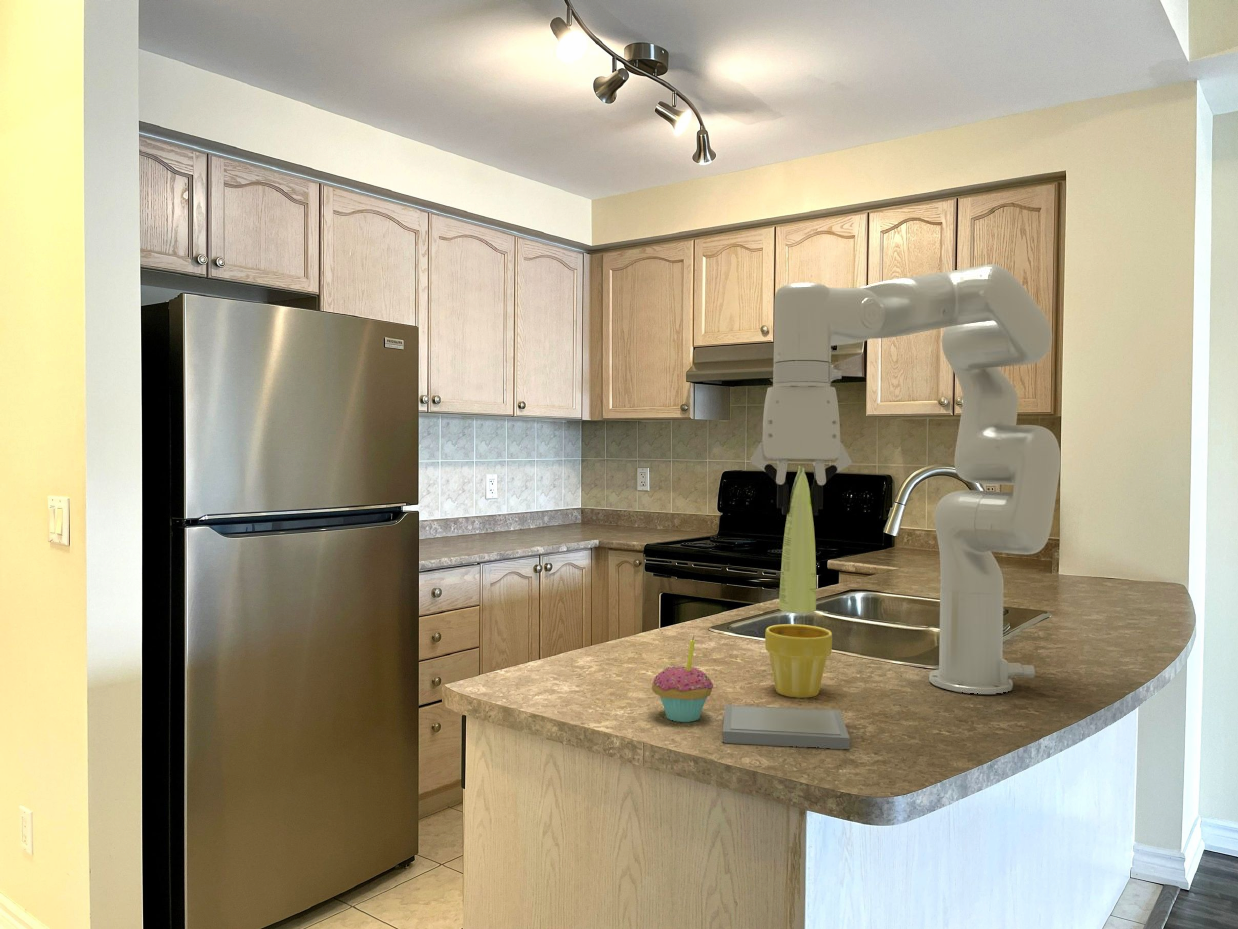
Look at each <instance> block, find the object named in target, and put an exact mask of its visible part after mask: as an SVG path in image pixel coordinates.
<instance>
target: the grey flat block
mask: <svg viewBox="0 0 1238 929" xmlns="http://www.w3.org/2000/svg"><path fill="white" fill-rule="evenodd" d="M723 712H724V714H723V725H722V743H723V742H724V743H723V744H736V745H737V744H741V745H754V746H755V745H756V746H776V747H789V746H793V748H807V747H816V748H815V749H826V748H830V750H844V749H851V748H850V746H851V745H850V744H851V743H850V740H851V738H850V735H849V732H848V729H847V725H846V723H845V721H844V718H843V715H842V713H841V710H840V709H839V710H838V709H820V708H802V707H801V708H800V707H799V708H798V707H784V706H783V707H779V706H759V705H758V706H756V705H738V704H724V711H723ZM796 746H797V747H796ZM817 747H819V748H817Z"/></svg>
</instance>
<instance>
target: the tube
mask: <svg viewBox="0 0 1238 929" xmlns="http://www.w3.org/2000/svg"><path fill="white" fill-rule="evenodd" d="M809 485H810V484H809V482H808V478H807V475H806V472H805V467H803V466H800V465H798V471H797V473H796V476H795V478H794V482H793V485H792V488H791V493H790V498H789V505H788V514H787V515H786V519H785V520H786V521H785V525H784V526H785V527H784V533H783V534H784V535H783V541H782V542H783V543H782V553H781V568H780V579H779V580H780V581H779V597H778V598H779V599H778V609H779V610H780V611H782V612H785V613H790V614H797V615H798V614H799V615H800V614H801V615H802V614H803V615H808V614H813V613H815V612H816V611H817V565H816V564H817V560H816V555H817V554H816V539H815V538H816V537H815V525H814V515H813V514H812V506H811V489H810V486H809Z"/></svg>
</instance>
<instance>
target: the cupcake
mask: <svg viewBox="0 0 1238 929" xmlns="http://www.w3.org/2000/svg"><path fill="white" fill-rule="evenodd" d="M695 642H696V641H695V634H693V635H692V638H691V639H690V641H689V645H688V646H689V647H688V655H687V661H686V666H679V665H677V666H672V667H671V666H670V667H666V668H665V669H663V670H662V671H660V672H658V674H656V675H655V677H654V679H653V681H652V684H651V690H652V692H653V693H654V694H655V695H657V696H659V699H660V701H661V703H662V705H663V709H664V712H665V716H666V718H667V719H668V720H670V721H672V720H673V722H677V723H690V722H695V721H698V720H699V719H700V718H701V714H702V711H703V708H704V705H705V703H706V700H707V698H708V697H710V696H711V694H712V691H713V689H714V684H713V682H712V680H711V678H710V676H708V675H707V674H706V673H705V672H704V671H702V670H701V669H698V668H697V667H694V666H693V664H692V663H693V659H694V658H693V657H694V651H695V650H694V649H695Z"/></svg>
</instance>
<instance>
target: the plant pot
mask: <svg viewBox="0 0 1238 929" xmlns="http://www.w3.org/2000/svg"><path fill="white" fill-rule="evenodd" d="M764 637H765V638H764V645H765V646H764V648H765V650H766V652H767V653H769V654H768V655H769V659H770V665H771V671H772V677H773V683H774V688H775V691H776V692H777V693H778V694H780V696H785V697H791V698H798V699H801V698H803V699H804V698H813V697H814V698H815V697H816V696H818V694H819V693H820V689H821V684H822V679H823V676H824V671H825V667H826V662H827V658H828V657H829V656H831V654H832V652H833V650H832V649H833V648H832V647H833V633H832V631H831V630H829V629H826V628H824V627H820V626H815V625H807V624H792V623H787V624H785V623H784V624H774V625H771V626H768V627H767V628H766V629H765V634H764Z"/></svg>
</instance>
